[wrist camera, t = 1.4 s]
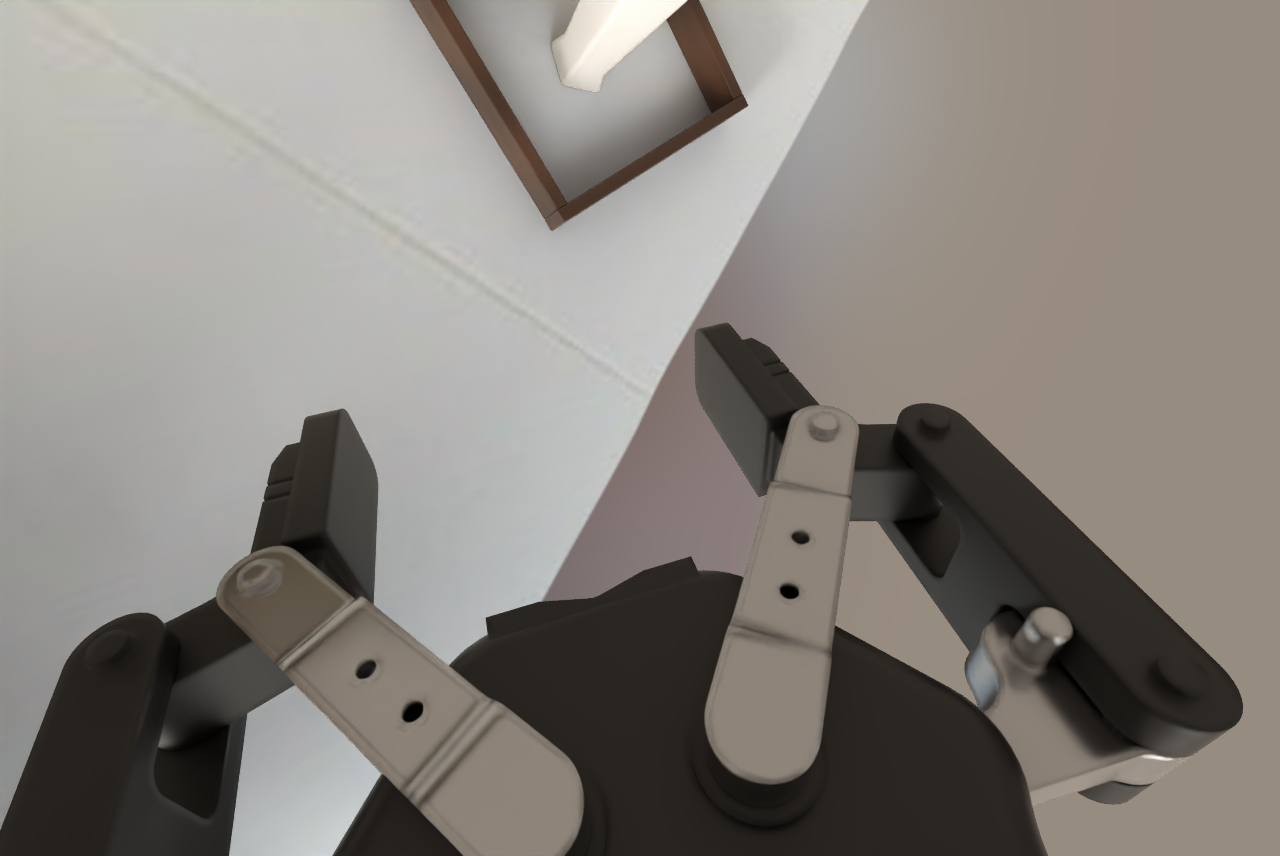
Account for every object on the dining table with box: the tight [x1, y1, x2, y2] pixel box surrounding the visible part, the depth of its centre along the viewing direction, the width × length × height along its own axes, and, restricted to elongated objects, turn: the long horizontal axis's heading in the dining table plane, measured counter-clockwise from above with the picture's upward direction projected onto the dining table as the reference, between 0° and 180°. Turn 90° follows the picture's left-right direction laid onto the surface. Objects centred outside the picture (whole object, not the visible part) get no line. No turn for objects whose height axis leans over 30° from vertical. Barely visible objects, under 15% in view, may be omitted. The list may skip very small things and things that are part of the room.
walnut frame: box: [410, 0, 748, 231], centre depth 36 cm, size 16×16×3 cm
